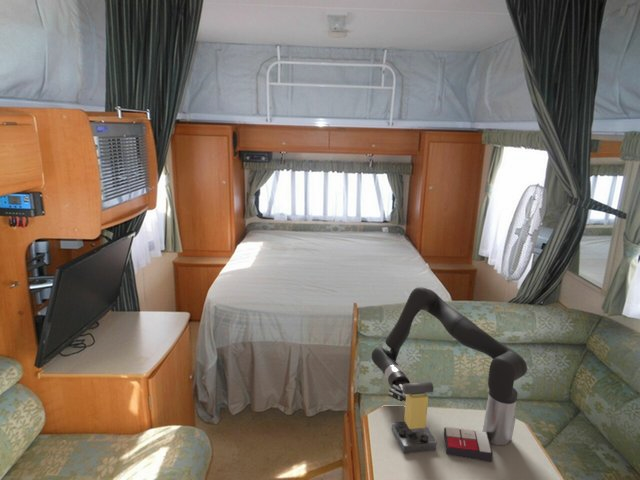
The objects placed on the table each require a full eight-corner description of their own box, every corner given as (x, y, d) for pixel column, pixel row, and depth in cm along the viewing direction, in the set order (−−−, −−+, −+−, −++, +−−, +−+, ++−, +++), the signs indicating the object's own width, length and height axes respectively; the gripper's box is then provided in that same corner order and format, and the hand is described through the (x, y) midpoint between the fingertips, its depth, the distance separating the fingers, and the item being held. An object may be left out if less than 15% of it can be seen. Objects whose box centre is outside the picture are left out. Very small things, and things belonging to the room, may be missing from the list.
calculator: (444, 425, 156) (487, 430, 153) (443, 435, 157) (486, 440, 155) (446, 446, 146) (493, 452, 143) (446, 456, 147) (492, 462, 144)
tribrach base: (421, 426, 160) (422, 416, 159) (435, 449, 149) (437, 439, 148) (391, 429, 158) (392, 419, 157) (403, 453, 146) (404, 443, 145)
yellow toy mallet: (424, 423, 155) (428, 378, 151) (430, 431, 151) (434, 386, 147) (398, 425, 153) (402, 380, 150) (403, 434, 149) (407, 388, 145)
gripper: (381, 371, 167) (396, 397, 151) (413, 369, 170) (431, 395, 153) (380, 388, 169) (394, 416, 152) (411, 385, 171) (429, 413, 155)
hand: (413, 405), depth 153 cm, fingers closed
